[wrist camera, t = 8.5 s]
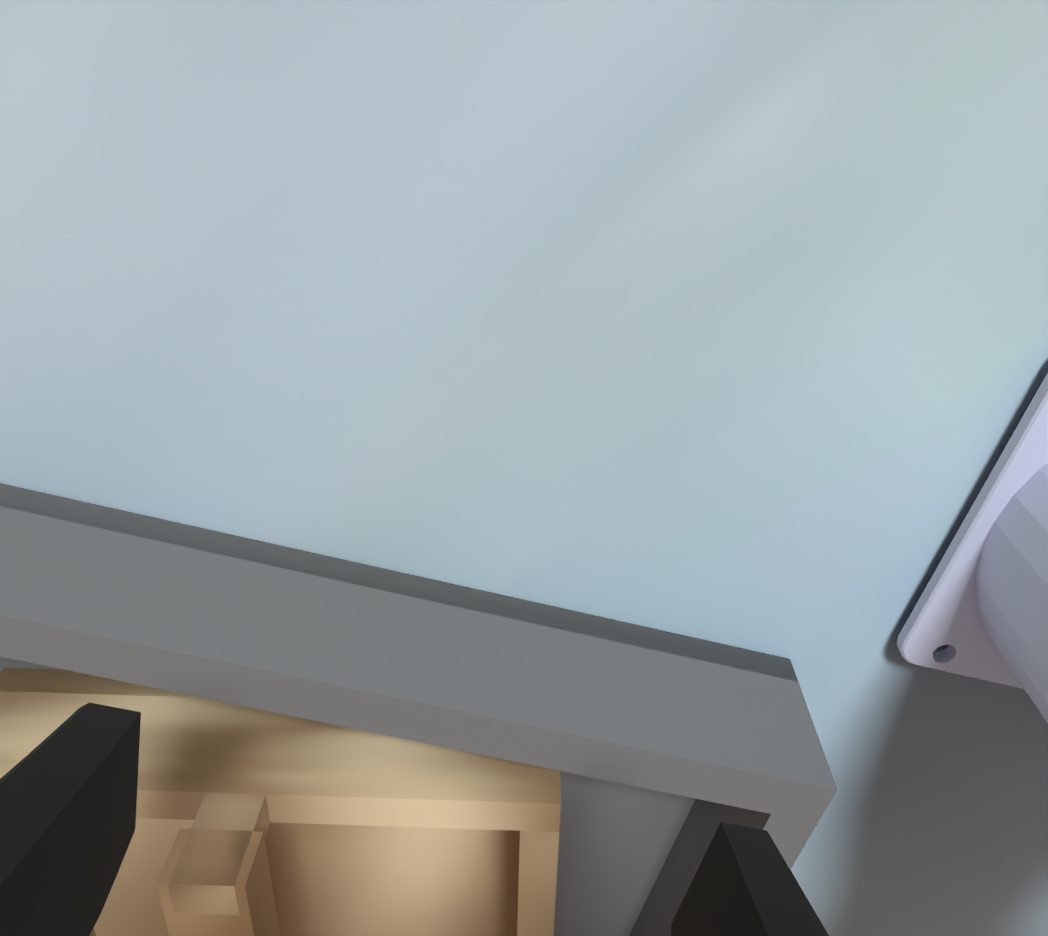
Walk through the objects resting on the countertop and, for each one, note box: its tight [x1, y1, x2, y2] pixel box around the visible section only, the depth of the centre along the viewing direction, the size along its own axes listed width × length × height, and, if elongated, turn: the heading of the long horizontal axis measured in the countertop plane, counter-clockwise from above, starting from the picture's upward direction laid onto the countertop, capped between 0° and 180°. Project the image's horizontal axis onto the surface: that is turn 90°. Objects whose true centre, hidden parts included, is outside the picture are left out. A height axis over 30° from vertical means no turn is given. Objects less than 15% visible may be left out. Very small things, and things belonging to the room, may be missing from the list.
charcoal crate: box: [0, 484, 837, 936], centre depth 24 cm, size 20×20×4 cm
